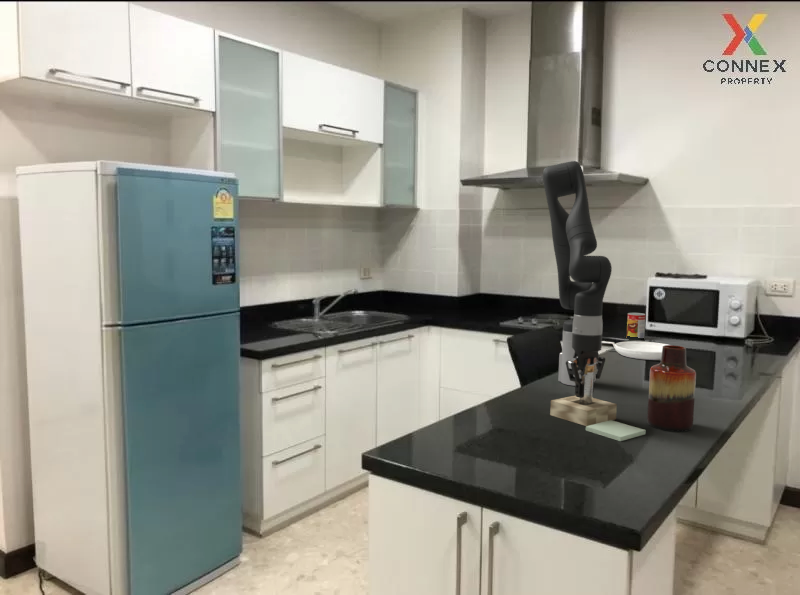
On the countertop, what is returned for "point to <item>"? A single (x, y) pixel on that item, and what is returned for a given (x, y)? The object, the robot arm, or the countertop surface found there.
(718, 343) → the countertop surface
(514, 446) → the countertop surface
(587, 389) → the flashlight
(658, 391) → the vase
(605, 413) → the block
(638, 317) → the canned food
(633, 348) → the pan
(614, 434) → the pad
